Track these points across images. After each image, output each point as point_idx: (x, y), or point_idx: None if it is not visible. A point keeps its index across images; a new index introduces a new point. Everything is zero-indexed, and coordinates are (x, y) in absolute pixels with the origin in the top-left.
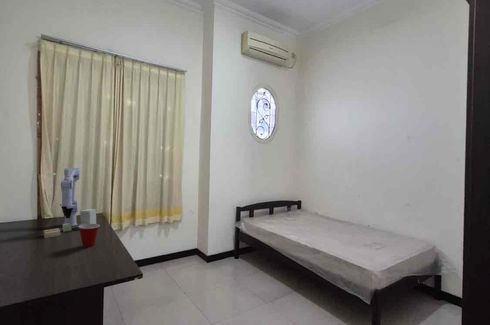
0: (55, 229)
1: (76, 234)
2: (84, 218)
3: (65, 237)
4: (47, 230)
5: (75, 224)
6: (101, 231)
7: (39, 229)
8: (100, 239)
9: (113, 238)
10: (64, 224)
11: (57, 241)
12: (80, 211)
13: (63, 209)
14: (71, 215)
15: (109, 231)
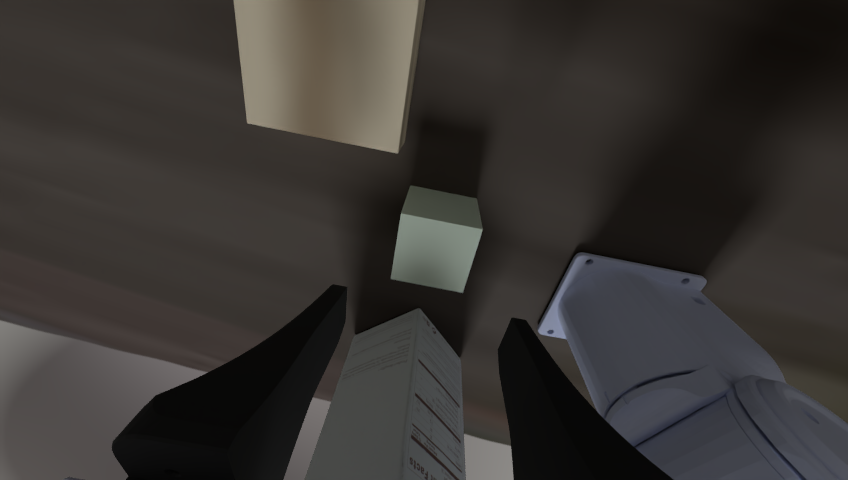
0: (363, 106)
1: (230, 220)
2: (368, 397)
3: (172, 124)
4: (384, 4)
5: (557, 326)
6: (218, 342)
7: (796, 24)
8: (3, 267)
9: (6, 315)
10: (439, 234)
11: (44, 13)
12: (398, 477)
13: (219, 412)
14: (601, 388)
15: (191, 362)
